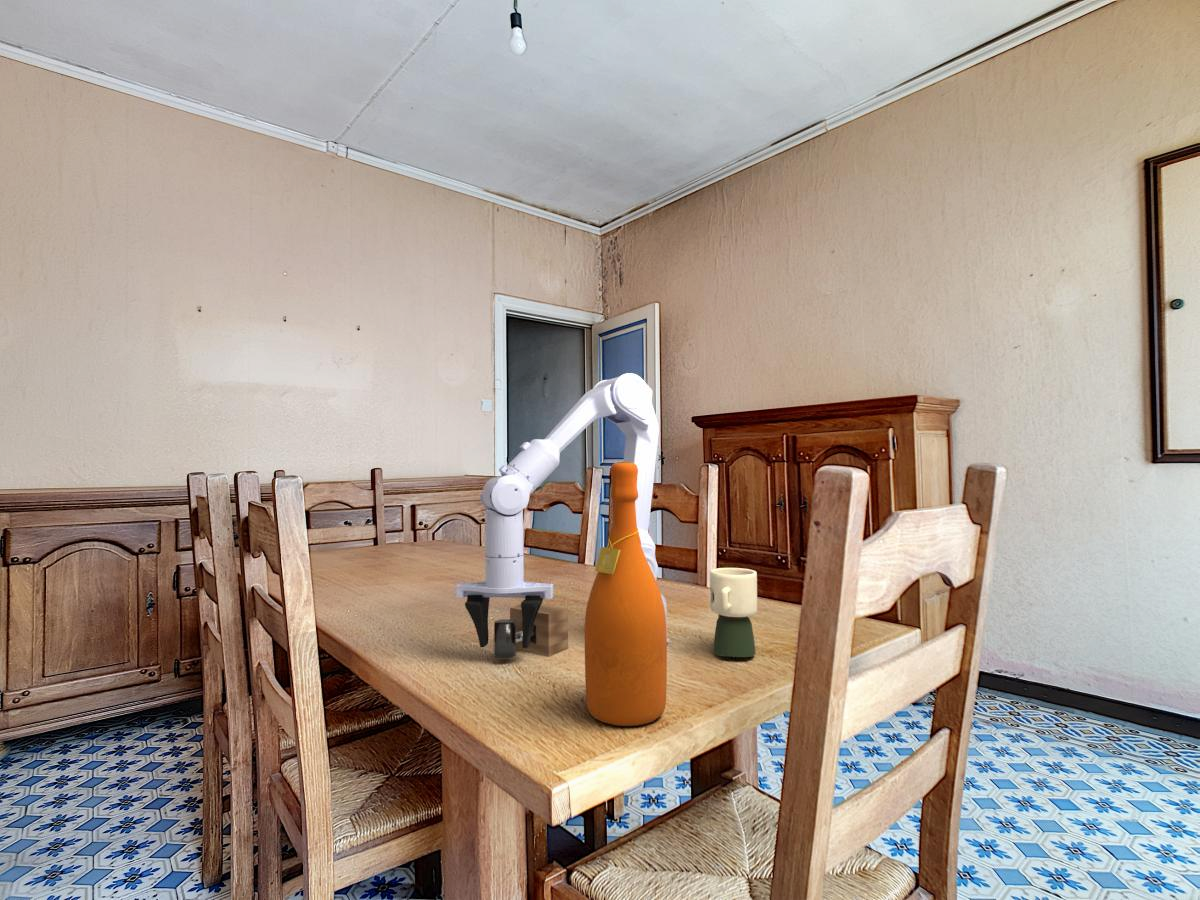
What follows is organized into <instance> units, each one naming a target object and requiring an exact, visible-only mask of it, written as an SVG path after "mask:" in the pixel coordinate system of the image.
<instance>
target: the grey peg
mask: <svg viewBox="0 0 1200 900" xmlns="http://www.w3.org/2000/svg"><path fill="white" fill-rule="evenodd" d="M493 622H494V623H493V625H494V626H493V627H494V629H493V630H494V631H493V632H494V633H493V638H494V639H493V646H494V647H493V648H494V649H493V651H494V653H493V654H494V655H493V656H494V657H495V658H497V659H500V660H501V659H511V658H514V657H516V655H517V649H516V643H517V642H520V641H522V635H523V631H520V632H517V633H516V621H515V620H512V619H510V618H504V619H503V618H502V619H498V620H494V621H493ZM533 636H536V626H534V627H533V629H532V633H531V637H533Z"/></svg>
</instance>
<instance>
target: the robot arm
mask: <svg viewBox="0 0 1200 900" xmlns="http://www.w3.org/2000/svg"><path fill="white" fill-rule="evenodd" d="M652 400H653V390H652V389H651V388H650V386H649V385H648V384H647V383H646V382H645V380H644V379H643V378H642V377H641V376H639V375H638V374H636V373H632V372H630V373H629V372H627V373H623V374H621V375H620V376H617V377H614V378H613V377H612V378H610V379H603V380H600V381H599V382H597V383H596V384H595V385H594V387H593V388H592V389H590V390H588V391H587V392H585V393H584V394H583V396H581V398H580V399H579V400H578V401H577V402H576V403H575V404H574V405H573V406H572V408H571V409H569V411H568V412H567V413H566V414H565V416H563V417H562V419H561V420H560V421H559V422H558V423H557V424H556V425H555V427H554V428H553V429H552V430H551V431H550V432H549V433H548V434H547V435H546V437H545V438H543V439H542V438H539V439H538V438H535V439H532V440H531V441H530V442H528V441H525V442H523V443H522V444H521V445H520V446H519V449H520V451H519V453H518V454H517V455H516V456H515V457H514V458H513V459H512V460H511V461H510V462H509V463H508V464H507V465H501V466H500V468H499V469H498V471H499V472H500V475H498V476H494V477H492V478H490V479H489V480H487V482H486V483H485V484H484V486H483V490H482V491H481V492H482V493H480V495H479V496H480V501H481V504H482V505H483V507H484V508H485V526H484V527H485V528H484V531H485V533H484V534H485V538H484V539H485V542H484V543H485V546H484V547H485V549H484V551H485V552H484V553H485V581H479V582H477V581H475V582H460V583H457V584H456V585H455V590H456V591H455V598H456V599H464V598H466V601H465V602H464V606H465V609H466V611H467V612H468V615H469V616H470V618H471V620H472V622H473V625H474V627H475V631H476V634H477V637H478V643H479V647H480V648H485V647H486V646H488V644H489V609H490V608H489V607H490V598H514V599H516V598H517V599H518V598H519V599H520V598H522V599H523V600H522V601H521V602H520V605H521V609H522V620H523V635H522V647H523V648H528V646H529V645H530V638H531V633H532V629H533V625H534V622H535V618H536V616H537V613H538V611H539V608H540V606H541V604H543V601H544V600H551V599H553V597H554V583H544V582H543V583H542V582H533V581H532V582H531V581H525V580H524V577H525V568H524V567H525V566H524V565H525V563H524V561H525V557H524V555H525V554H524V550H525V549H524V545H525V544H524V540H525V539H524V509H526V508H527V507H528V505H529V501H530V495H531V494H533V493H534V492H535V491H536V490H537V489H538V488H539V486H541V484H542V483H543V482H544V481H545V480H546V479H547V478H548V477H549V476H551V474H552V473H553V472H554V471H555V470H556V468H558V467H559V465H560V456H561V455H560V454H561V452H562V451H563V450H565V449H566V448H567V447H568V446H569V444H571V443H572V442H573V441H574V440H575V439H576V438H577V437H578V436H579V435H580V434H581V433H582V432H583V431H584V430H585V429H587V428H588V426H590V424H592V423H593V422H594V421H596V420H598V419H602V418H605V419H606V420H608V421H610V422H612V423H613V424H615V425H616V426H617V427H618V429H619V430H620V431H621V432H622V433H623V435H624V436H625V445H624V455H623V461H622V462H632V463H634V464H636V465H637V467H638V475H637V491H638V498H637V500H636V501H635V509H636V522H637V528H638V532H639V536H640V540H641V547H642V550H643V552H644V555H645V557H646V559H647V562H648V564H649V566H650V568H651V571H652V573H653V575H654V578H655V580H656V581H657V578H658V575H659V565H658V563H657V559H656V544H655V542H654V541H653V538H652V537H651V535H650V534H649V528H650V520H651V519H650V518H651V509H652V498H653V491H654V480H655V471H656V464H657V463H656V461H657V451H658V443H659V436H660V435H659V433H660V425H659V422H658V419H657V416H656V412H655V408H654V406H653V402H652ZM608 542H609V538H608V540H607V546H606V548H608V546H609V543H608ZM660 594H661V597H662V601H663V605H664V609H665V615H666V629H667V630H668V605H667V604H668V603H667V601H666V597H665V596H664V595H663V594H662V593H660ZM669 642H670V639H669V638H667V644H668V643H669Z"/></svg>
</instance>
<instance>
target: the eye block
mask: <svg viewBox="0 0 1200 900" xmlns="http://www.w3.org/2000/svg"><path fill="white" fill-rule="evenodd" d="M509 619H512V620H515V621H516V633H517V632H520V631H523V620H522V609H521V604H519V605H518V604H517V605H513V606H511V607H509ZM534 626H536V636H533V637H531V638H530V645H529V646H528V648H523V647H522V641H520V642H517V643H516V651H521V652H522V651H523V652H527V653H530V654H536V655H541V656H544V657H551V656H553V655H555V654H558V653H560V652H563V651H565V650H568V649H569V607H565V606H560V605H554V604H553V605H552V604H546V603H542V604H541V606H540V608H539V611H538V613H537V616H536V618H535V622H534V625H533V627H534Z"/></svg>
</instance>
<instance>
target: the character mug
mask: <svg viewBox="0 0 1200 900" xmlns="http://www.w3.org/2000/svg"><path fill="white" fill-rule="evenodd" d="M709 571H710V572H709V579H710V580H709V581H710V582H709V589H710V603H709V607H710V610H711V611H712V612H713V613H714V614H717V616H718V618H717V619H716V625H715V631H714V638H713V639H714V641H713V650H712V651H713V652H714V654H715V655H717V656H719V657H729V659H730V660H733V659H734V658H735V657H736V658H749V657H754V656H755V655H756V646H755V637H754V636H755V635H754V630H753V624H752V621H751V619H750V617H751V616H755V615H756V614H757V612H758V575H757V574H758V573H757V571H756V570H753V569H749V568H740V567H719V568H712V569H710V570H709Z"/></svg>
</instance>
